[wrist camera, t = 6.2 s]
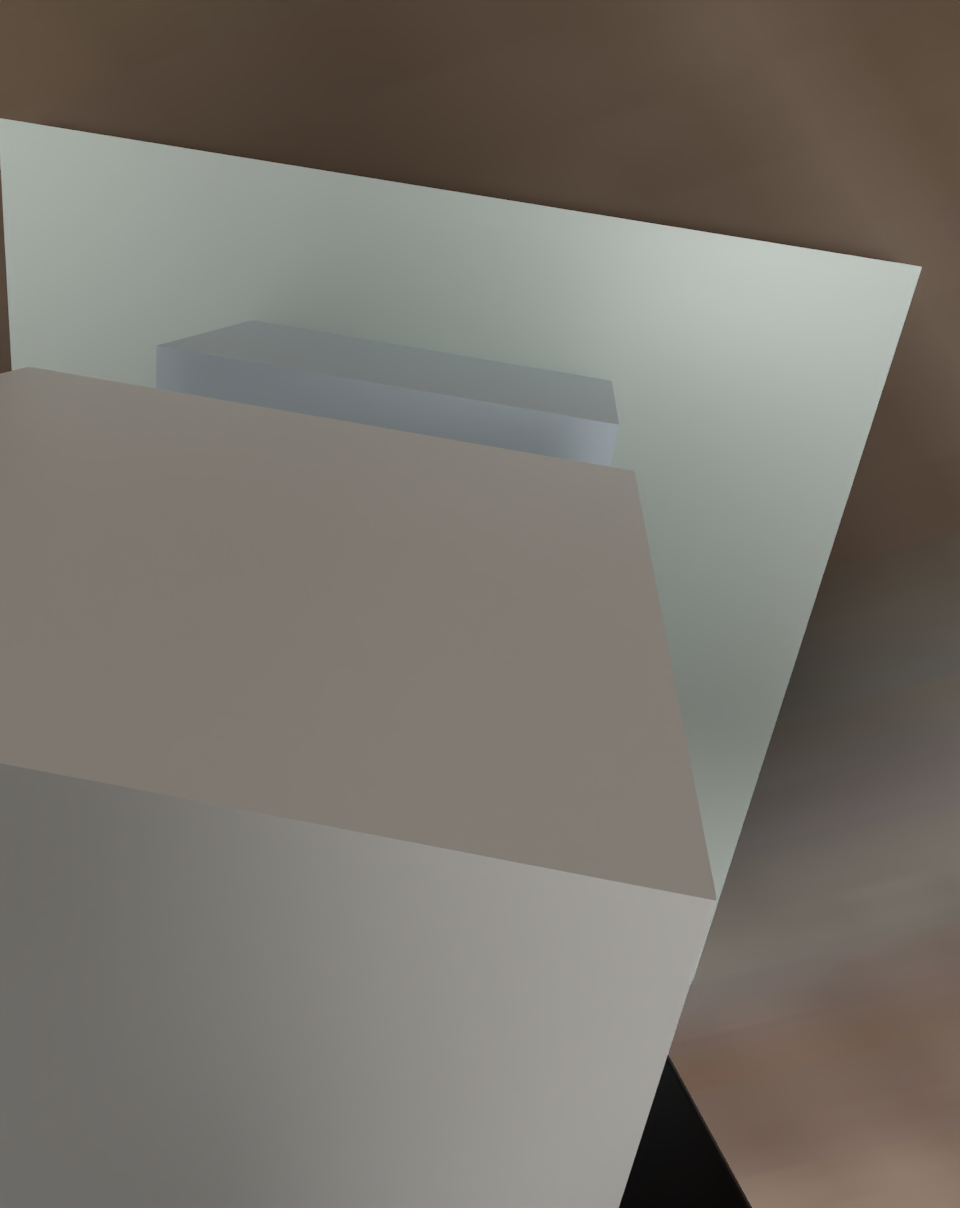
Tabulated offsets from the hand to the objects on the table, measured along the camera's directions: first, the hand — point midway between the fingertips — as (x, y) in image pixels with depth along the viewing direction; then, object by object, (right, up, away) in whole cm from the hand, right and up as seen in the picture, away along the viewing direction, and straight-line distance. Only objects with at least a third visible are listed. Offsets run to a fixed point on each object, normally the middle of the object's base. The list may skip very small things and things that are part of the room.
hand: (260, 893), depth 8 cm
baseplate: (+1, +3, +7) cm, 7 cm away
